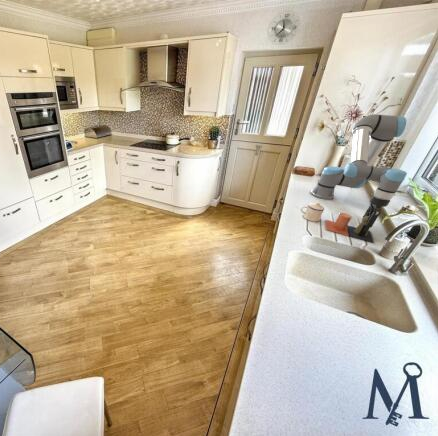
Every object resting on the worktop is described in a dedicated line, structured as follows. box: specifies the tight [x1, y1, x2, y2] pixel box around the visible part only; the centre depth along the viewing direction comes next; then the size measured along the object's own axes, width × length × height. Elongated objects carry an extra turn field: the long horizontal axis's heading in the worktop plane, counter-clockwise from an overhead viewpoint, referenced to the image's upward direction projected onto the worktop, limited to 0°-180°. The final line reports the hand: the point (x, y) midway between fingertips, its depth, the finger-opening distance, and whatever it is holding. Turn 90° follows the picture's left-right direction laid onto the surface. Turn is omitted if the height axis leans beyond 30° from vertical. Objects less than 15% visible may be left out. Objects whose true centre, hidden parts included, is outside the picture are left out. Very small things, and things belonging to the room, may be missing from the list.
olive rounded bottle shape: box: [354, 215, 370, 236], centre depth 136 cm, size 6×6×11 cm
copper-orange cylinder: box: [333, 212, 352, 230], centre depth 142 cm, size 6×6×9 cm
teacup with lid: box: [300, 201, 325, 223], centre depth 152 cm, size 12×9×12 cm
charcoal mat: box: [347, 225, 374, 244], centre depth 139 cm, size 14×11×1 cm
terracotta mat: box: [325, 219, 350, 237], centre depth 145 cm, size 14×11×1 cm
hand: (360, 232), depth 139 cm, fingers closed on olive rounded bottle shape, 6 cm apart
